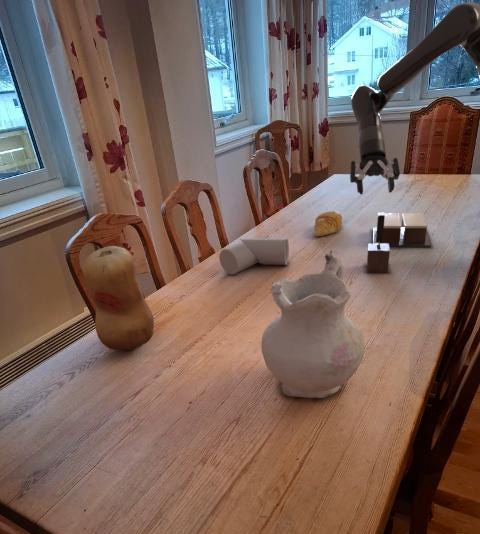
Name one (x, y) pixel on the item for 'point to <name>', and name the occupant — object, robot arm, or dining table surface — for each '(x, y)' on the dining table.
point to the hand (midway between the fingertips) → (376, 192)
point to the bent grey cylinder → (254, 254)
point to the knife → (380, 228)
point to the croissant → (327, 223)
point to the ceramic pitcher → (313, 334)
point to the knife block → (378, 258)
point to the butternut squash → (118, 299)
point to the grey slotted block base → (404, 231)
